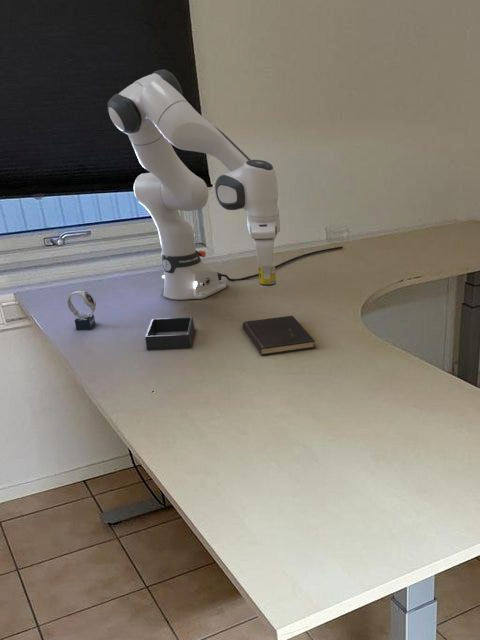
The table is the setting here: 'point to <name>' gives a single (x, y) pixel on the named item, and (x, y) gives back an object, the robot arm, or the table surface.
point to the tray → (170, 340)
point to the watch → (83, 319)
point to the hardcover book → (278, 335)
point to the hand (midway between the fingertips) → (267, 275)
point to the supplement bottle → (267, 282)
